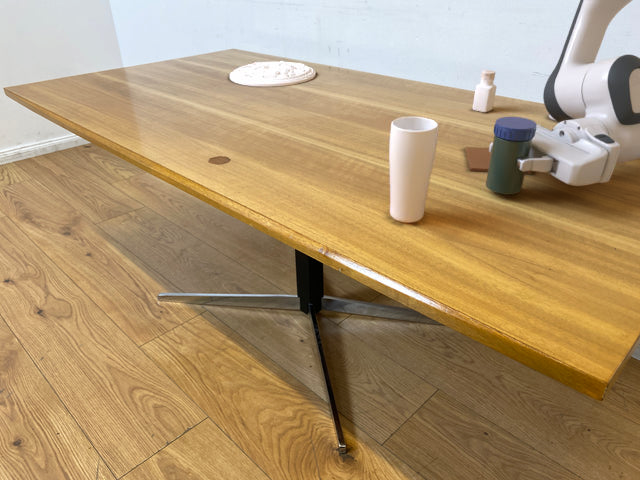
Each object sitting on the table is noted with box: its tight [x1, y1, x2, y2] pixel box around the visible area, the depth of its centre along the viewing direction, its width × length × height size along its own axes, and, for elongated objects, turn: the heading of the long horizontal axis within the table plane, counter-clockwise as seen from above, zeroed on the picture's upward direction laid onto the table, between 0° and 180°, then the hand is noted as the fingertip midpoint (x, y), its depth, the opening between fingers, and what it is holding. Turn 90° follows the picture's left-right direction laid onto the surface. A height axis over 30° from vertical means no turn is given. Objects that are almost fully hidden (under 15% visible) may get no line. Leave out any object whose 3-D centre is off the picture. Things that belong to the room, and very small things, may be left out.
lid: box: [493, 116, 538, 141], centre depth 77 cm, size 6×6×2 cm
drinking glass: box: [388, 116, 439, 224], centre depth 73 cm, size 7×7×15 cm
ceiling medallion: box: [229, 60, 317, 87], centre depth 158 cm, size 28×28×3 cm
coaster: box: [464, 146, 533, 175], centre depth 95 cm, size 11×11×1 cm
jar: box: [485, 133, 533, 195], centre depth 79 cm, size 6×6×11 cm
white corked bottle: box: [472, 69, 497, 113], centre depth 121 cm, size 4×4×10 cm
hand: (505, 156), depth 79 cm, fingers closed on jar, 6 cm apart
